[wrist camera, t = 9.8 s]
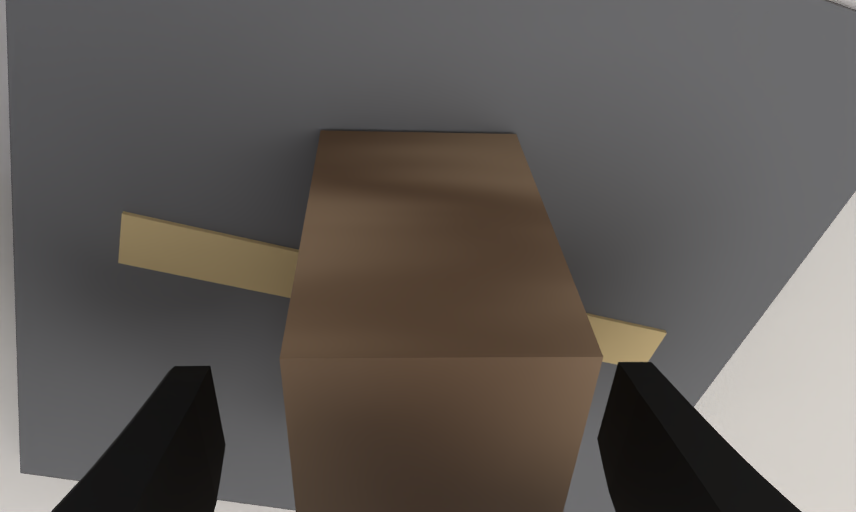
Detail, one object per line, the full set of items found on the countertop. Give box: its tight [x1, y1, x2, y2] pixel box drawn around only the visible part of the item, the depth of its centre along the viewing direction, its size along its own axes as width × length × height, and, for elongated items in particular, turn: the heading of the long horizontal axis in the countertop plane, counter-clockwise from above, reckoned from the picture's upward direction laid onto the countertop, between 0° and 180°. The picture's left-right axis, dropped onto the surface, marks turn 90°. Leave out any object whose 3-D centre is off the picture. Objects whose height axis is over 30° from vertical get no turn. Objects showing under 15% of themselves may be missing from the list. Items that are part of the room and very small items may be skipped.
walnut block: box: [279, 130, 603, 512], centre depth 12 cm, size 4×8×6 cm, turn 177°
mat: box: [6, 0, 856, 512], centre depth 15 cm, size 16×16×1 cm
